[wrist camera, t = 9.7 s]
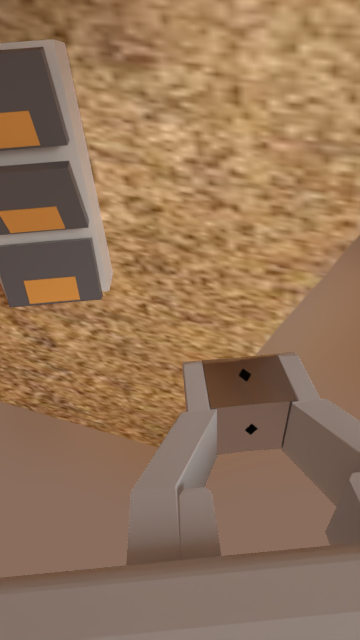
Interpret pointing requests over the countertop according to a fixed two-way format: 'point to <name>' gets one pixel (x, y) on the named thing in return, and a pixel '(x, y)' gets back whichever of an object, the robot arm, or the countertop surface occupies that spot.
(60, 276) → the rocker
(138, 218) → the countertop surface
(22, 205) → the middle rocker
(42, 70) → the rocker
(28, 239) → the rocker switch box
